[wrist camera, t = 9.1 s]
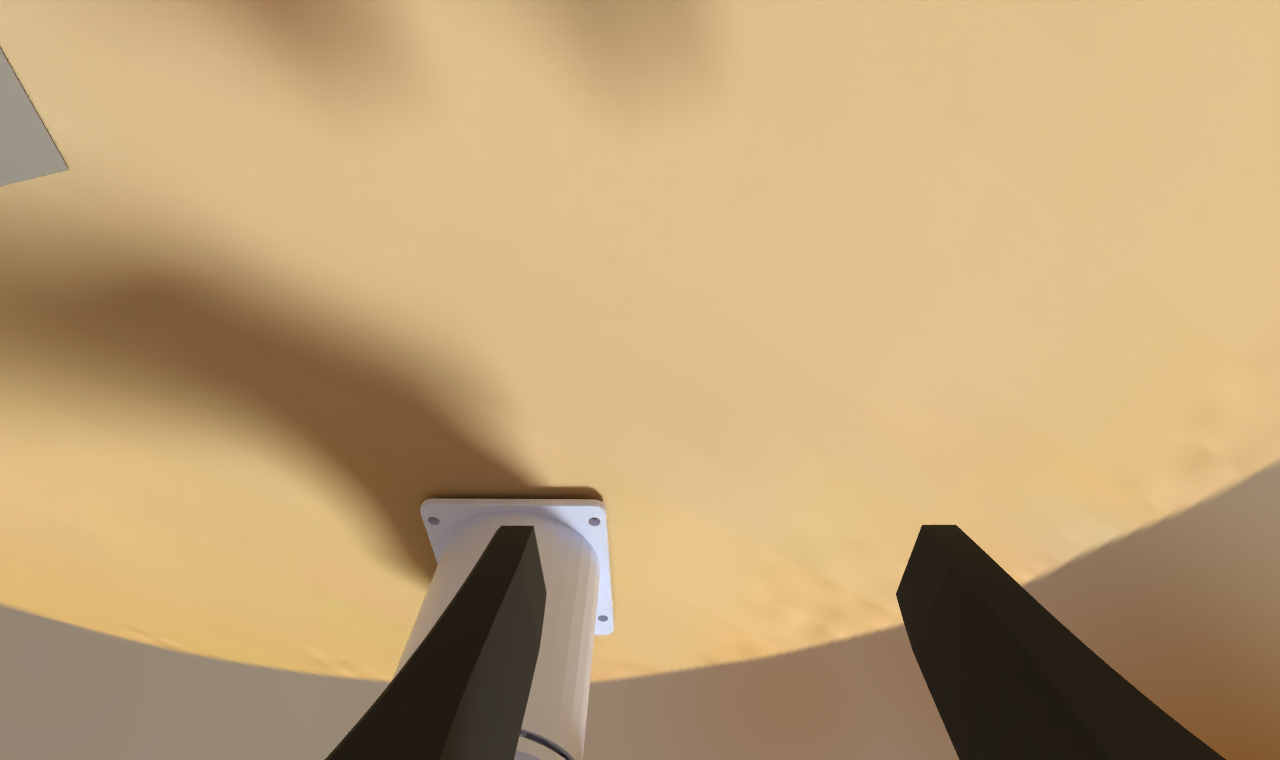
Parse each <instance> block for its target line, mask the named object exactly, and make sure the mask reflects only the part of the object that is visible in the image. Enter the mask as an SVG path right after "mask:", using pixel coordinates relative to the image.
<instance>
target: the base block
mask: <svg viewBox="0 0 1280 760" xmlns="http://www.w3.org/2000/svg"><path fill="white" fill-rule="evenodd" d="M65 170H69V169H68V167H67V165H66V164H65V162H64V160H63V158H62V156H61V155H60V153H59V151H58V149H57V148H56V146H55V144H54V142H53V141H52V139H51V137H50V135H49V133H48V132H47V130H46V128H45V126H44V125H43V123H42V121H41V119H40V118H39V116H38V114H37V112H36V110H35V109H34V107H33V105H32V103H31V102H30V100H29V98H28V96H27V95H26V93H25V91H24V89H23V87H22V86H21V84H20V82H19V80H18V79H17V77H16V75H15V73H14V72H13V70H12V68H11V66H10V64H9V63H8V61H7V59H6V57H5V56H4V54H3V52H2V50H1V49H0V186H4V185H8V184H12V183H17V182H21V181H25V180H29V179H33V178H37V177H41V176H45V175H49V174H53V173H57V172H61V171H65Z"/></svg>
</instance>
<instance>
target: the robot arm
mask: <svg viewBox="0 0 1280 760" xmlns="http://www.w3.org/2000/svg"><path fill="white" fill-rule="evenodd" d="M420 514H421V517H422V520H423V522H424V525H425V528H426V531H427V534H428V537H429V540H430V543H431V546H432V549H433V552H434V555H435V558H436V561H437V564H438V566H437V568H436V571H435V573H434V576H433V578H432V581H431V584H430V586H429V589H428V591H427V594H426V596H425V599H424V601H423V604H422V606H421V609H420V611H419V614H418V616H417V619H416V621H415V624H414V626H413V629H412V631H411V634H410V636H409V639H408V641H407V644H406V646H405V649H404V651H403V654H402V656H401V659H400V661H399V664H398V666H397V669H396V671H395V674H394V676H393V679H392V681H391V683H390V684H389V685H388V687H387V688H386V689H385V690H384V692H383V693H382V694H381V695H380V696H379V698H378V699H377V700H376V701H375V703H374V704H373V705H372V706H371V707H370V709H369V710H368V711H367V712H366V713H365V714H364V716H363V717H362V718H361V719H360V720H359V722H358V723H357V724H356V725H355V726H354V727H353V728H352V730H351V731H350V732H349V733H348V734H347V735H346V737H345V738H344V739H343V740H342V741H341V742H340V744H338V746H337V747H336V748H335V749H334V750H333V751H332V752H331V754H330V755H329V756H328V757H327V758H326V759H325V760H582V758H583V748H584V738H585V727H586V716H587V706H588V695H589V686H590V675H591V665H592V655H593V644H594V635H608V634H611V633H612V632H613V630H614V615H613V601H612V587H611V572H610V558H609V544H608V529H607V515H606V506H605V504H604V503H603V502H602V501H599V500H595V499H427V500H425V501H424V502H423V503H422V505H421V507H420ZM434 517H436V518H434ZM592 518H598V519H592ZM896 596H897V600H898V603H899V607H900V610H901V614H902V617H903V621H904V624H905V627H906V631H907V634H908V637H909V640H910V643H911V647H912V650H913V652H914V655H915V657H916V660H917V662H918V664H919V667H920V669H921V671H922V674H923V676H924V679H925V681H926V683H927V686H928V688H929V690H930V693H931V695H932V697H933V699H934V702H935V704H936V706H937V709H938V711H939V713H940V716H941V718H942V720H943V723H944V725H945V727H946V729H947V732H948V734H949V736H950V739H951V741H952V743H953V746H954V748H955V750H956V753H957V755H958V757H959V760H1226V759H1224V758H1223V757H1222V756H1220V755H1219V754H1218V753H1217V752H1215V751H1214V750H1212V749H1211V748H1210V747H1209V746H1207V745H1206V744H1205V743H1204V742H1202V741H1201V740H1200V739H1198V738H1197V737H1196V736H1194V735H1193V734H1192V733H1190V732H1189V731H1188V730H1186V729H1185V728H1184V727H1183V726H1181V725H1180V724H1179V723H1178V722H1176V721H1175V720H1174V719H1173V718H1171V717H1170V716H1169V715H1168V714H1166V713H1165V712H1164V711H1163V710H1161V709H1160V708H1159V707H1158V706H1156V705H1155V704H1154V703H1153V702H1152V701H1150V700H1149V699H1148V698H1147V697H1146V696H1144V695H1143V694H1142V693H1141V692H1140V691H1138V690H1137V689H1136V688H1135V687H1134V686H1132V685H1131V684H1130V683H1129V682H1128V681H1127V680H1125V679H1124V678H1123V677H1122V676H1121V675H1119V674H1118V673H1117V672H1116V671H1115V670H1114V669H1112V668H1111V667H1110V666H1109V665H1108V664H1106V663H1105V662H1104V661H1103V660H1102V659H1101V658H1099V657H1098V656H1097V655H1096V654H1095V653H1094V652H1093V651H1092V650H1090V649H1089V648H1088V647H1087V646H1086V645H1085V644H1084V643H1082V642H1081V641H1080V640H1079V639H1078V638H1077V637H1076V636H1074V635H1073V634H1072V633H1071V632H1070V631H1069V630H1068V629H1067V628H1066V627H1065V626H1063V625H1062V624H1061V623H1060V622H1059V621H1058V620H1057V619H1056V618H1055V617H1054V616H1052V615H1051V614H1050V613H1049V612H1048V611H1047V610H1046V609H1045V608H1044V607H1043V606H1042V605H1041V604H1039V603H1038V602H1037V601H1036V600H1035V599H1034V598H1033V597H1032V596H1031V595H1030V594H1029V593H1028V592H1027V591H1026V590H1024V589H1023V588H1022V587H1021V586H1020V585H1019V584H1018V583H1017V582H1016V581H1015V580H1014V579H1013V578H1012V577H1011V576H1010V575H1009V574H1007V573H1006V572H1005V571H1004V570H1003V569H1002V568H1001V567H1000V566H999V565H998V564H997V563H996V562H995V561H994V560H993V559H992V558H991V557H990V556H989V555H988V554H986V553H985V552H984V551H983V550H982V549H981V548H980V547H979V546H978V545H977V544H976V543H975V542H974V541H973V540H972V539H971V538H970V537H968V536H967V535H966V534H965V533H964V532H963V531H962V530H961V529H960V528H959V527H958V526H957V525H922V527H921V529H920V532H919V535H918V537H917V540H916V543H915V545H914V548H913V551H912V553H911V556H910V559H909V561H908V564H907V566H906V569H905V572H904V574H903V577H902V580H901V582H900V585H899V588H898V590H897V593H896Z"/></svg>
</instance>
